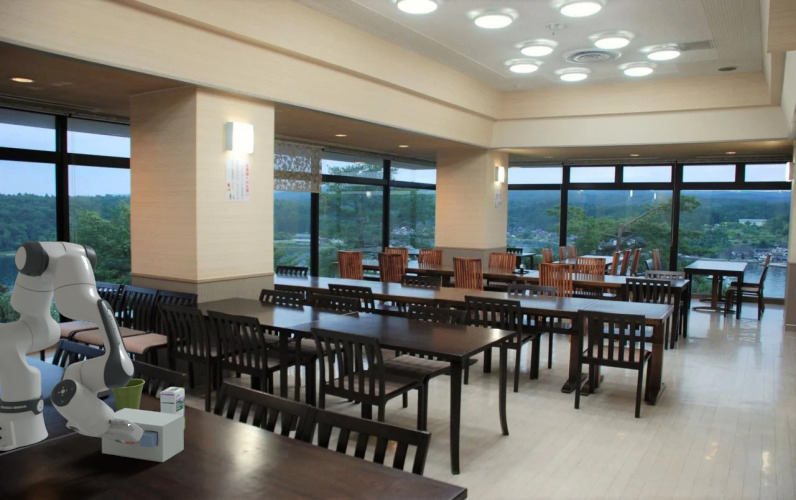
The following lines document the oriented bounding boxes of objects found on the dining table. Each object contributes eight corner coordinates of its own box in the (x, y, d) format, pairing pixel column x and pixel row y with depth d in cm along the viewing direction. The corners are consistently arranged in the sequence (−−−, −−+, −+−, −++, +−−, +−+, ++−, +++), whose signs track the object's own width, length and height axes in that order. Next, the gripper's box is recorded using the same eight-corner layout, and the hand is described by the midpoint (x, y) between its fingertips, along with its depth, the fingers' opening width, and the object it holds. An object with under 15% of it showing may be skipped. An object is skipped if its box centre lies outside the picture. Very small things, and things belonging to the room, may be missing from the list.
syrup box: (176, 434, 196) (175, 392, 195) (160, 433, 197) (160, 391, 196) (185, 428, 201) (185, 387, 200) (170, 427, 202) (169, 386, 202)
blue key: (140, 445, 173) (139, 434, 173) (146, 442, 176) (146, 430, 176) (151, 447, 172) (151, 435, 172) (158, 443, 175) (158, 432, 175)
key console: (102, 453, 180) (101, 418, 179) (125, 441, 190) (124, 407, 189) (162, 462, 174) (162, 426, 173) (183, 449, 184) (183, 415, 183)
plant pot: (150, 407, 222) (150, 378, 222) (137, 418, 210) (137, 387, 210) (119, 407, 222) (118, 378, 221) (104, 418, 210) (103, 387, 209)
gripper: (133, 412, 162) (156, 434, 172) (73, 405, 167) (99, 426, 177) (121, 434, 158) (146, 455, 168) (60, 425, 163) (88, 446, 173)
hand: (122, 440), depth 173 cm, fingers closed
